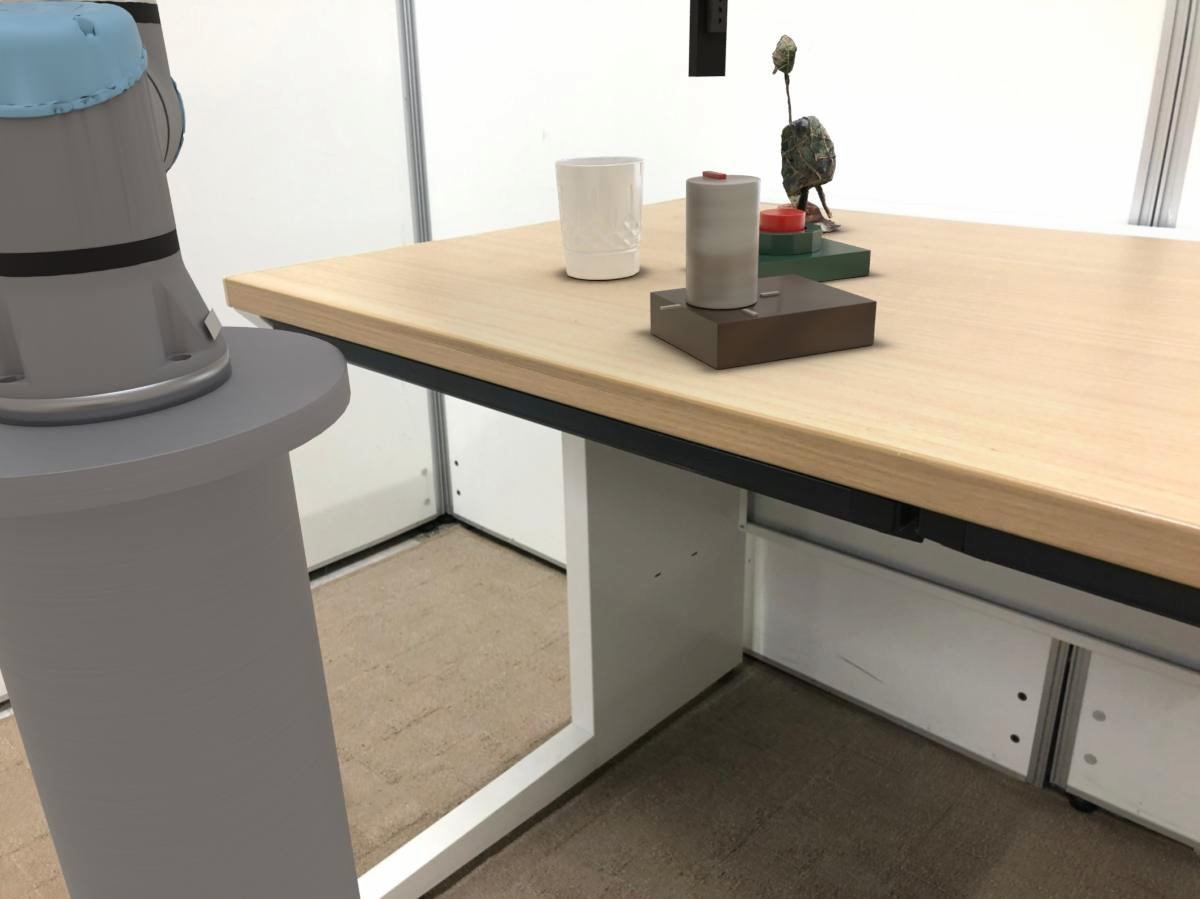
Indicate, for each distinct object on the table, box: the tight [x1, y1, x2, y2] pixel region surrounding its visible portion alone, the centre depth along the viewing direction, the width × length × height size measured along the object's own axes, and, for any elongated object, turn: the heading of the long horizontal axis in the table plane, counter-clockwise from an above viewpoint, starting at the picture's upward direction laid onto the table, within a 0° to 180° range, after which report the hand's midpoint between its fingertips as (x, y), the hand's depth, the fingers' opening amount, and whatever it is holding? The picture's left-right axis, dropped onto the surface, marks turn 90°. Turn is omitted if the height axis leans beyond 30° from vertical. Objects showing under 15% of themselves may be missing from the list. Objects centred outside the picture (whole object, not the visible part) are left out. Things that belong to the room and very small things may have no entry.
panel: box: [649, 274, 878, 370], centre depth 68 cm, size 14×10×3 cm
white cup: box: [554, 155, 645, 281], centre depth 89 cm, size 8×8×10 cm
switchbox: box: [758, 222, 872, 283], centre depth 88 cm, size 12×10×4 cm
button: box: [759, 208, 805, 232], centre depth 87 cm, size 4×4×2 cm
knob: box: [685, 170, 762, 309], centre depth 65 cm, size 5×5×8 cm
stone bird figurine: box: [771, 34, 842, 234], centre depth 105 cm, size 8×11×20 cm
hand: (706, 76), depth 83 cm, fingers closed
